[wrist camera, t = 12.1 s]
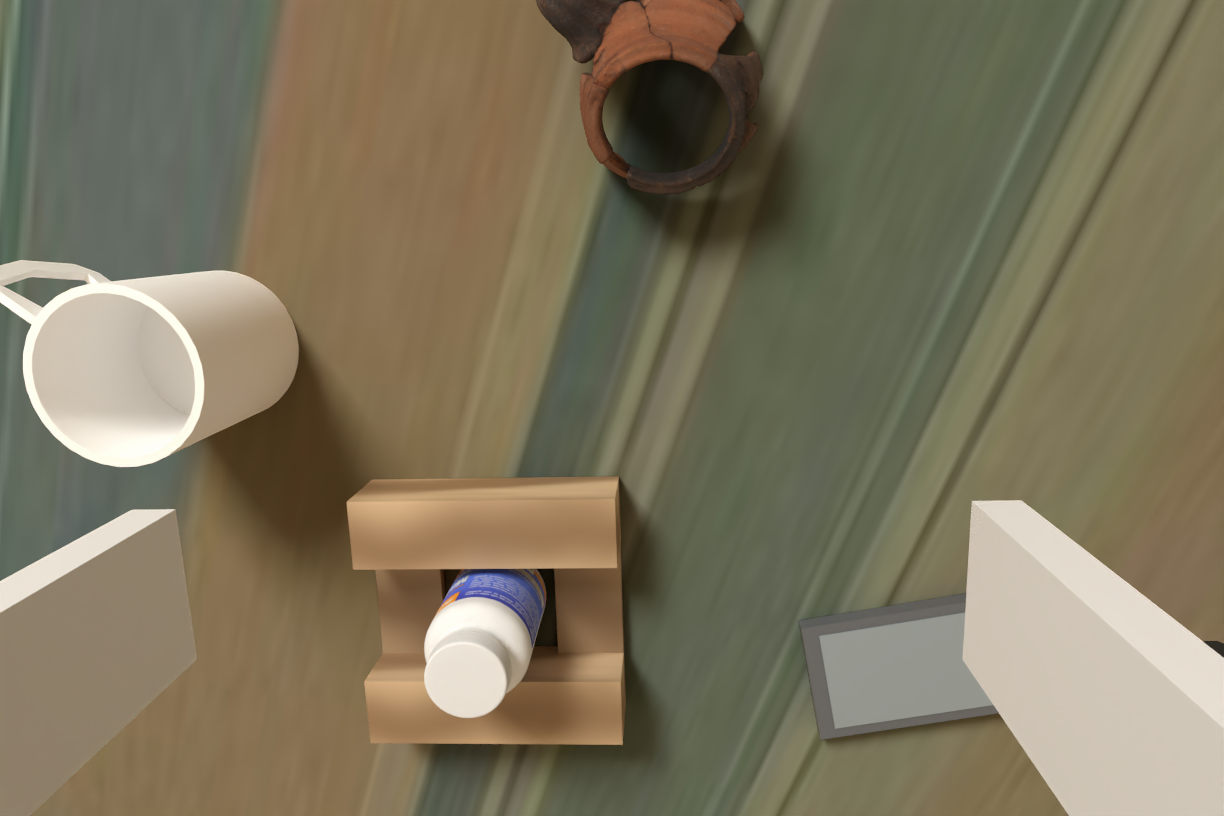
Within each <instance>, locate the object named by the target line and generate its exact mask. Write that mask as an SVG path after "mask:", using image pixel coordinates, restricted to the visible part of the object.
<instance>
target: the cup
mask: <svg viewBox="0 0 1224 816" xmlns="http://www.w3.org/2000/svg"><path fill="white" fill-rule="evenodd" d="M29 277H40V278H56V279H73V280H85V281H86V282H87V283H88V284H87V285H83V286H79V287H76V288H72V289H70V290H68V291H66V292H64V293H62V294H60V295H58V296H56V297H55V298H54V299H53V300H52V301H51V302H49V303H48V304H47V305H46V306H45V307H44V308H42V307H40V306H39V305H37V304H35V303H33V302H31V301H29V300H28V299H26V298H24V297H22V296H20V295H18V294H16V293H15V292H13V291H11V290H9V289H7V288H5V287H4V285H7V284H10V283H13V282H16V281H20V280H23V279H26V278H29ZM0 302H1V303H2V304H3V305H5V306H6V307H8V308H9V309H11V310H12V311H13V312H15V313H16V314H18V315H19V316H20V317H22V318H23V319H25V320H26V321H27V322H29V323H30V324H32V326H31V328H30V330H29V332H28V335H27V337H26V342H25V347H24V352H23V373H24V379H25V384H26V389H27V392H28V394H29V397H30V400H31V402H32V405H33V407H34V409H35V410H36V412H37V414H38V415H39V417H40V419H41V420H42V422H43V423H44V425H45V426H46V427H47V428H48V429H49V430H50V432H51V433H52V434H53V435H54V436H55V437H56V438H57V439H58V440H59V441H61V442H62V443H63V444H64V445H65V446H67V447H68V448H69V449H71V450H72V451H74V452H76V453H78V454H79V455H81V456H83V457H85V458H87V459H90V460H92V461H95V462H98V463H101V464H105V465H111V466H117V467H137V466H141V465H145V464H150V463H154V462H156V461H158V460H160V459H162V458H164V457H166V456H168V455H171V454H173V453H175V452H177V451H179V450H181V449H183V448H185V447H187V446H190V445H192V444H194V443H196V442H198V441H200V440H202V439H204V438H206V437H209V436H211V435H213V434H215V433H217V432H219V431H221V430H223V429H226V428H228V427H230V426H232V425H234V424H236V423H238V422H240V421H242V420H245V419H247V418H249V417H251V416H253V415H255V414H257V413H259V412H262V411H264V410H266V409H268V408H269V407H271V406H272V405H273V404H275V403H276V402H277V401H279V400H280V398H281V397H282V396H283V395H284V394H285V392H286V391H287V390H288V388H289V386H290V385H291V383H292V381H293V379H294V376H295V373H296V369H297V366H298V356H299V346H298V338H297V333H296V330H295V327H294V324H293V321H292V319H291V317H290V315H289V313H288V311H287V310H286V308H285V307H284V305H283V304H282V303H281V301H280V300H279V299H278V298H277V296H276V295H275V294H273V293H272V292H271V291H270V290H269V289H268V288H267V287H265V286H264V285H262V284H261V283H259V282H257V281H256V280H254V279H252V278H250V277H248V276H245V275H242V274H239V273H236V272H229V271H205V272H196V273H186V274H177V275H168V276H159V277H149V278H140V279H131V280H122V281H112V282H111V281H110V280H108V279H107V278H105V277H104V276H103V275H101V274H100V273H98V272H95V271H92V270H90V269H87V268H84V267H81V266H78V265H76V264H67V263H53V262H39V261H26V260H19V261H15V262H12V263H8V264H4V265H0Z"/></svg>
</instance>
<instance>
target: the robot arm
mask: <svg viewBox="0 0 1224 816" xmlns="http://www.w3.org/2000/svg"><path fill="white" fill-rule="evenodd" d="M195 660H197V656H196V649H195V642H194V635H193V628H192V621H191V614H190V607H189V600H188V593H187V586H186V579H185V572H184V565H183V558H182V551H181V544H180V538H179V531H178V524H177V517H176V510H175V509H168V510H131V511H129V512H127V513H125V514H123V515H121V516H120V517H118V518H116V519H114V520H112V521H110V522H109V523H107V524H105V525H103V526H101V527H99V528H97V529H96V530H94V531H92V532H90V533H88V534H86V535H85V536H83V537H81V538H79V539H77V540H75V541H73V542H72V543H70V544H68V545H66V546H64V547H62V548H61V549H59V550H57V551H55V552H53V553H51V554H49V555H48V556H46V557H44V558H42V559H40V560H38V561H37V562H35V563H33V564H31V565H29V566H27V567H26V568H24V569H22V570H20V571H18V572H16V573H14V574H13V575H11V576H9V577H7V578H5V579H3V580H2V581H0V816H30V815H31V814H32V813H33V812H34V811H36V810H37V809H38V808H39V807H40V806H41V805H42V804H43V803H44V802H45V801H46V800H47V799H48V798H49V797H50V796H52V795H53V794H54V793H55V792H56V791H57V790H58V789H59V788H60V787H61V786H62V785H63V784H64V783H65V782H66V781H68V780H69V779H70V778H71V777H72V776H73V775H74V774H75V773H76V772H77V771H78V770H79V769H80V768H81V767H82V766H84V765H85V764H86V763H87V762H88V761H89V760H90V759H91V758H92V757H93V756H94V755H95V754H96V753H97V752H98V751H100V750H101V749H102V748H103V747H104V746H105V745H106V744H107V743H108V742H109V741H110V740H111V739H112V738H113V737H114V736H115V735H117V734H118V733H119V732H120V731H121V730H122V729H123V728H124V727H125V726H126V725H127V724H128V723H129V722H130V721H131V720H133V719H134V718H135V717H136V716H137V715H138V714H139V713H140V712H141V711H142V710H143V709H144V708H145V707H146V706H147V705H149V704H150V703H151V702H152V701H153V700H154V699H155V698H156V697H157V696H158V695H159V694H160V693H161V692H162V691H163V690H165V689H166V688H167V687H168V686H169V685H170V684H171V683H172V682H173V681H174V680H175V679H176V678H177V677H178V676H179V675H181V674H182V673H183V672H184V671H185V670H186V669H187V668H188V667H189V666H190V665H191V664H192V663H193V662H194V661H195ZM962 660H963V661H964V663H965V664H966V666H967V667H968V669H969V670H970V671H971V673H972V674H973V676H974V677H975V679H976V680H977V682H978V683H979V685H980V686H981V688H982V689H983V690H984V692H985V693H986V695H987V696H988V698H989V699H990V701H991V702H992V704H993V705H994V707H995V708H996V709H997V711H998V712H999V714H1000V715H1001V717H1002V718H1003V720H1004V721H1005V723H1006V724H1007V726H1008V727H1009V728H1010V730H1011V731H1012V733H1013V734H1014V736H1015V737H1016V739H1017V740H1018V742H1019V743H1020V745H1021V746H1022V747H1023V749H1024V750H1025V752H1026V753H1027V755H1028V756H1029V758H1030V759H1031V761H1032V762H1033V764H1034V765H1035V767H1036V768H1037V769H1038V771H1039V772H1040V774H1041V775H1042V777H1043V778H1044V780H1045V781H1046V783H1047V784H1048V786H1049V787H1050V788H1051V790H1052V791H1053V793H1054V794H1055V796H1056V797H1057V799H1058V800H1059V802H1060V803H1061V805H1062V806H1063V807H1064V809H1065V810H1066V812H1067V813H1068V815H1069V816H1224V644H1223V643H1221V642H1218V641H1201V640H1200V639H1199V638H1198V637H1196V636H1195V635H1194V634H1192V633H1191V632H1190V631H1189V630H1187V629H1186V628H1185V627H1183V626H1182V625H1181V624H1180V623H1178V622H1177V621H1176V620H1174V619H1173V618H1172V617H1171V616H1169V615H1168V614H1167V613H1165V612H1164V611H1163V610H1162V609H1160V608H1159V607H1158V606H1156V605H1155V604H1154V603H1153V602H1151V601H1150V600H1149V599H1147V598H1146V597H1145V596H1144V595H1142V594H1141V593H1140V592H1138V591H1137V590H1136V589H1135V588H1133V587H1132V586H1131V585H1129V584H1128V583H1127V582H1126V581H1124V580H1123V579H1122V578H1120V577H1119V576H1118V575H1117V574H1115V573H1114V572H1113V571H1111V570H1110V569H1109V568H1108V567H1106V566H1105V565H1104V564H1102V563H1101V562H1100V561H1099V560H1097V559H1096V558H1095V557H1093V556H1092V555H1091V554H1090V553H1088V552H1087V551H1086V550H1084V549H1083V548H1082V547H1081V546H1079V545H1078V544H1077V543H1075V542H1074V541H1073V540H1072V539H1070V538H1069V537H1068V536H1066V535H1065V534H1064V533H1063V532H1061V531H1060V530H1059V529H1057V528H1056V527H1055V526H1054V525H1052V524H1051V523H1050V522H1048V521H1047V520H1046V519H1045V518H1043V517H1042V516H1041V515H1039V514H1038V513H1037V512H1036V511H1034V510H1033V509H1032V508H1030V507H1029V506H1028V505H1027V504H1025V503H1024V502H1023V501H1021V500H1019V501H972V509H971V525H970V542H969V559H968V575H967V592H966V609H965V626H964V642H963V659H962Z"/></svg>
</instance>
